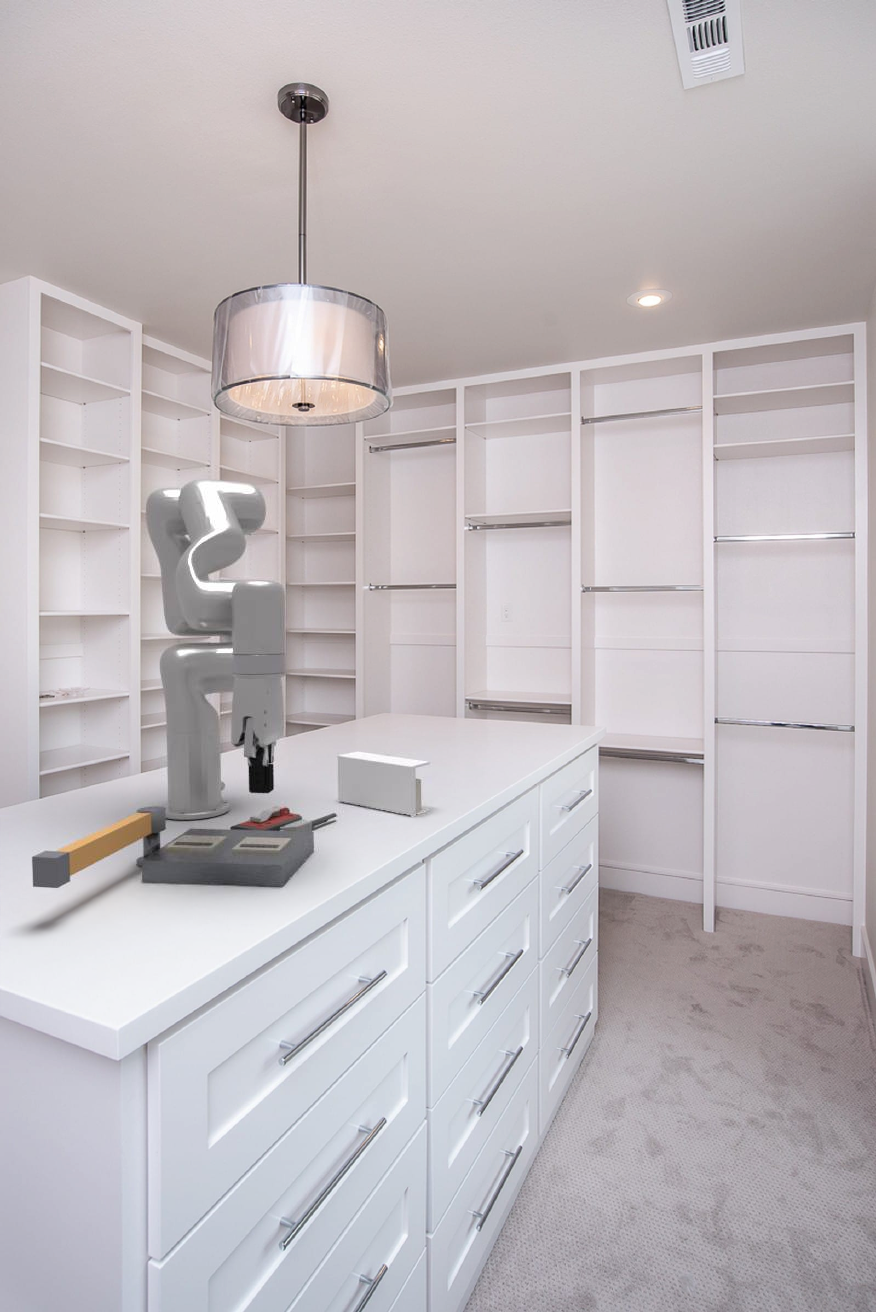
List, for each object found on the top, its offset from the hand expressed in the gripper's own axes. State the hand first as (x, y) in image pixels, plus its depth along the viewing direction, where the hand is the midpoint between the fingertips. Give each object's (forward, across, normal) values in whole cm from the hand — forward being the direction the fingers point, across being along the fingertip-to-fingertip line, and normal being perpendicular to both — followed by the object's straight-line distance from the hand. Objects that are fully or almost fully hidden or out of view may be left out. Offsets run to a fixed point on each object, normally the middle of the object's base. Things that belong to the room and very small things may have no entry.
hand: (261, 791), depth 113 cm
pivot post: (+11, 0, -17) cm, 20 cm away
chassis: (+11, 0, -4) cm, 12 cm away
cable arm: (+6, +11, -18) cm, 22 cm away
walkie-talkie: (+12, -18, -2) cm, 22 cm away
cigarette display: (+11, -37, +11) cm, 40 cm away
